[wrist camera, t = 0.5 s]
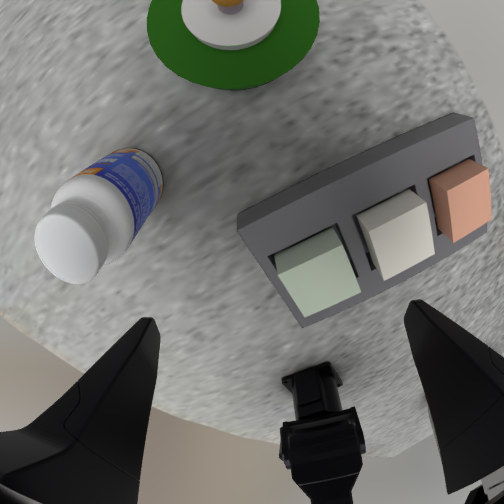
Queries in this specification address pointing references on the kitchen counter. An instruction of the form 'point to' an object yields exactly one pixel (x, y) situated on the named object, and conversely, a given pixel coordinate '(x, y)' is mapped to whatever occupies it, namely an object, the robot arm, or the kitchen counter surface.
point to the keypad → (361, 205)
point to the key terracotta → (461, 199)
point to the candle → (232, 39)
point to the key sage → (317, 272)
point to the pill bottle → (98, 215)
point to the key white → (397, 233)
